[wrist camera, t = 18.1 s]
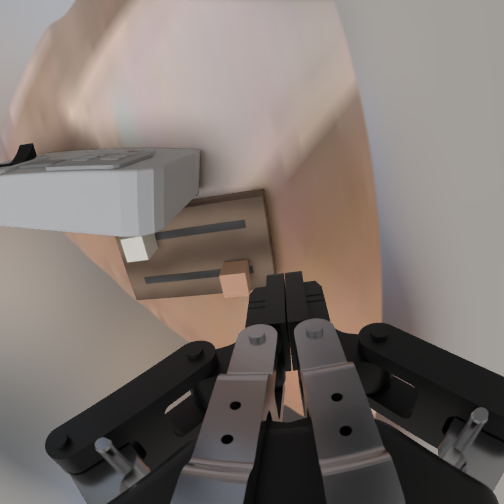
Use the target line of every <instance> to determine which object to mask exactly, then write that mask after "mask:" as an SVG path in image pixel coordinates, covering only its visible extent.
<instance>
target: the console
mask: <svg viewBox="0 0 504 504" xmlns="http://www.w3.org/2000/svg"><path fill="white" fill-rule="evenodd" d="M154 234H155V238H156V242H157V245H158V249H157V250H156V252H155V253H154V254H153V255H152V256H151V258H150V259H149V260H144V261H136V262H128V263H127V260H126V257H125V254H124V250H123V247H122V244H121V241H120V239H122V238H123V237H119V236H115V237H116V240H117V243H118V247H119V250H120V253H121V256H122V259H123V262H124V265H125V268H126V271H127V274H128V277H129V280H130V283H131V285H132V288H133V291H134V294H135V296H136V299H137V300H144V299H158V298H171V297H183V296H195V295H207V294H218V293H223V290H222V286H221V282H220V278H219V274H220V271H221V269H222V266H223V263H224V262H232V261H241V260H248V265H249V271H250V276H251V287H250V290H254V289H255V288H257V287H266V277H267V275H272V274H276V270H275V263H274V256H273V249H272V242H271V235H270V228H269V222H268V215H267V208H266V202H265V195H264V189H260V190H253V191H246V192H239V193H232V194H226V195H219V196H213V197H207V198H201V199H195V200H191V201H190V202H189V203H188V204H187V205H186V206H185V207H184V208H183V209H182V210H181V211H180V212H179V213H178V214H177V215H176V216H175V217H174V218H173V219H172V220H171V221H170V222H169V223H168V224H167V225H166V226H165V227H164V228H163V229H161V230H159V231H158V232H156V233H154Z"/></svg>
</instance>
